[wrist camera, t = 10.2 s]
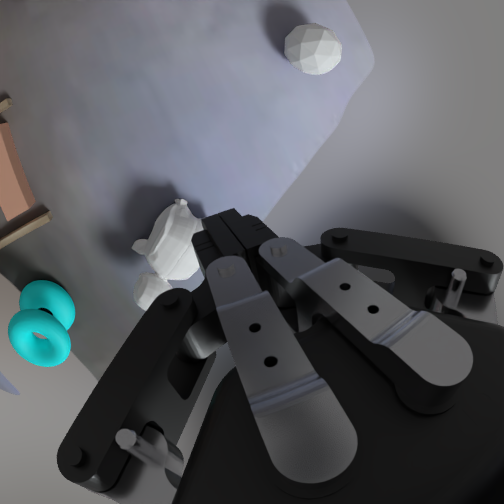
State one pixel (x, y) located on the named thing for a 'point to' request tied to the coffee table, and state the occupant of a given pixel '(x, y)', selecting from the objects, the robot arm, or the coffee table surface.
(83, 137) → the coffee table surface
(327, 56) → the geometric ball
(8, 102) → the frame
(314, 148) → the coffee table surface
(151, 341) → the robot arm
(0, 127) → the t piece
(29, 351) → the donuts
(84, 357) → the coffee table surface
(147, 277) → the white animal figure
